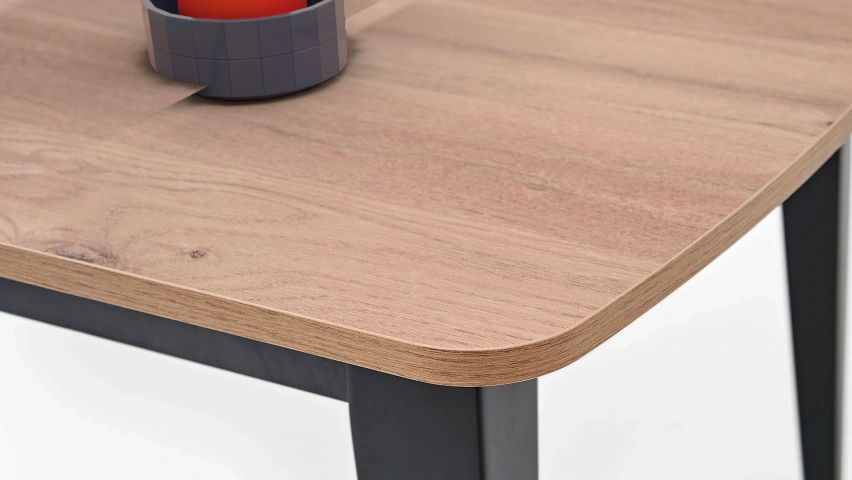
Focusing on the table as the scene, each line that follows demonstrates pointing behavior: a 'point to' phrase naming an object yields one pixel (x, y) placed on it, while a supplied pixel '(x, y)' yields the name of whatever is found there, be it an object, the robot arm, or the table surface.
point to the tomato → (237, 8)
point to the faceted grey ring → (247, 49)
